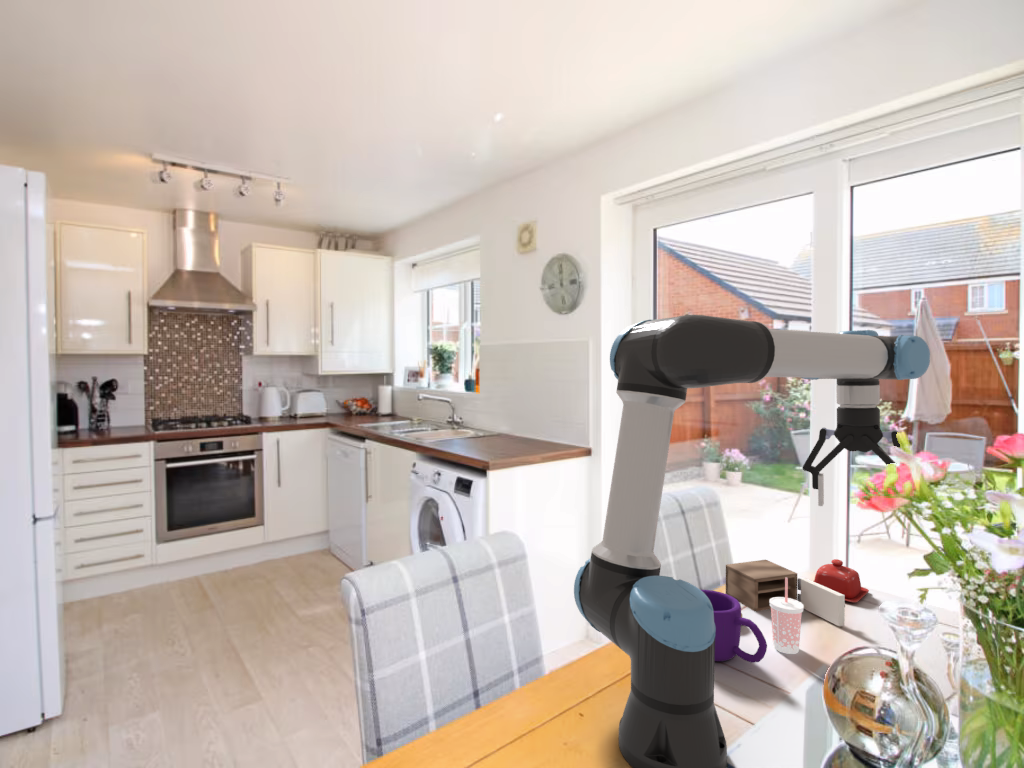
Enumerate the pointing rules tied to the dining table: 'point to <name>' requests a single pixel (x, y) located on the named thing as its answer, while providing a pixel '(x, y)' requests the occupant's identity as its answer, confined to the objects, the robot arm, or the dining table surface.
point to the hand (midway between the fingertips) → (858, 508)
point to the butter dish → (841, 580)
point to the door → (822, 601)
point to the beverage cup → (786, 622)
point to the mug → (732, 628)
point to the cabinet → (759, 583)
